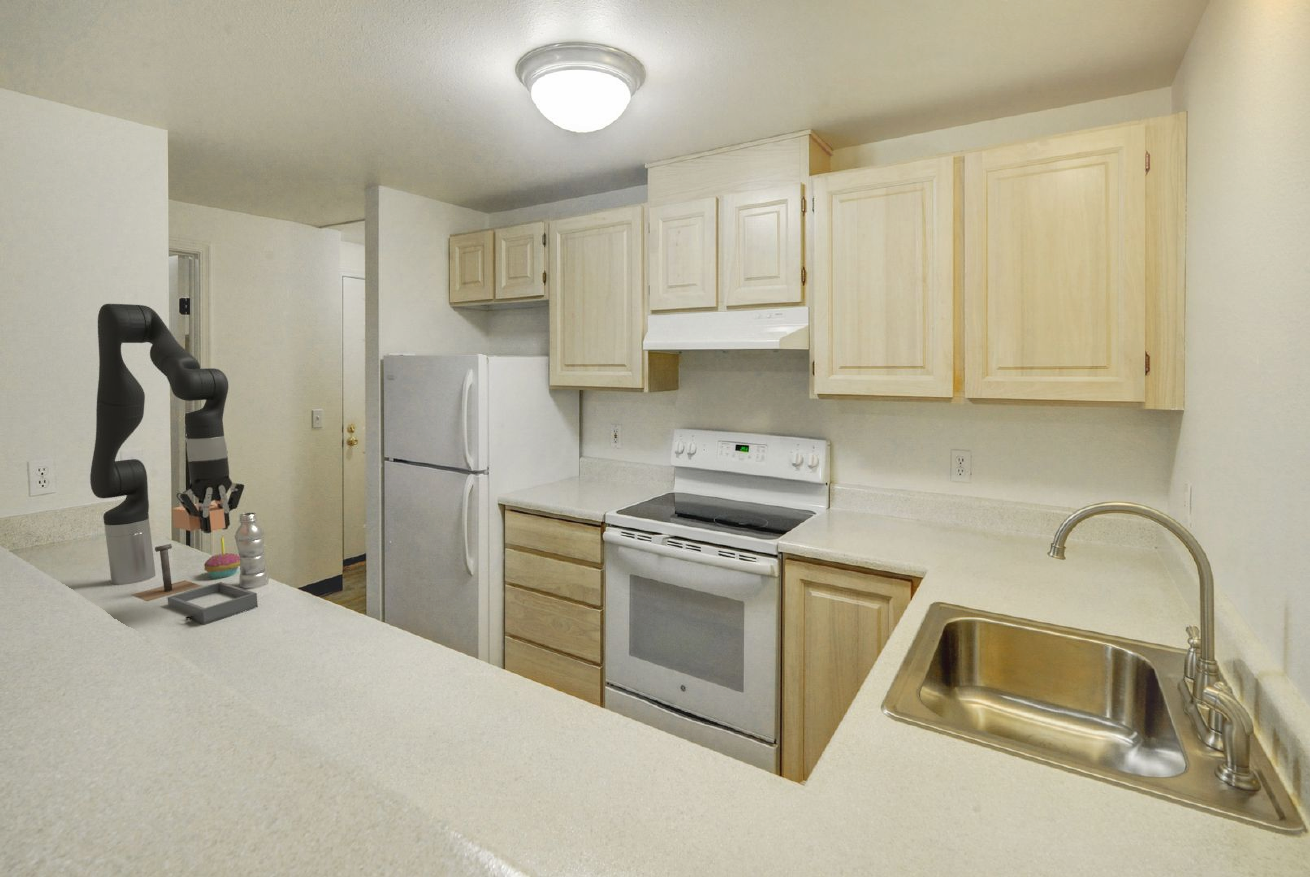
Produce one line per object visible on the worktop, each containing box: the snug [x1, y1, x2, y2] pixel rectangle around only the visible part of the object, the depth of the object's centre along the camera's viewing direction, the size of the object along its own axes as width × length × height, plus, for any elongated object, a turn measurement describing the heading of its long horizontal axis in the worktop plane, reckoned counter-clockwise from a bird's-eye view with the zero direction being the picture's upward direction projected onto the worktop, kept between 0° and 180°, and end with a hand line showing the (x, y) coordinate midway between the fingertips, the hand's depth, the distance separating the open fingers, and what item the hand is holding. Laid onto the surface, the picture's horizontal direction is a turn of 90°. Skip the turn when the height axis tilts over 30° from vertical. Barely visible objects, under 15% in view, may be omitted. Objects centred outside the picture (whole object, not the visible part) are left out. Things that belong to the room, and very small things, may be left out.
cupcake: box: [203, 534, 240, 579], centre depth 176 cm, size 9×8×12 cm
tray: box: [166, 581, 259, 626], centre depth 155 cm, size 16×12×4 cm
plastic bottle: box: [234, 512, 270, 590], centre depth 167 cm, size 6×7×20 cm
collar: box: [172, 502, 225, 532], centre depth 153 cm, size 12×8×4 cm, turn 60°
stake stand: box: [131, 543, 203, 602], centre depth 164 cm, size 9×12×13 cm
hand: (215, 530), depth 150 cm, fingers closed on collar, 3 cm apart
